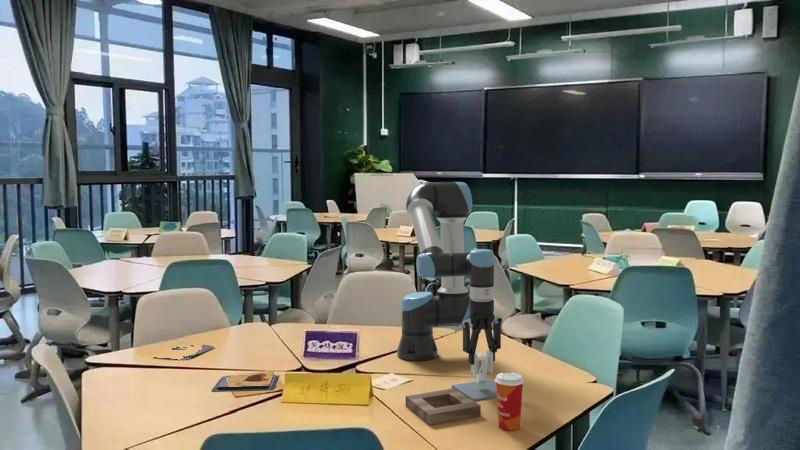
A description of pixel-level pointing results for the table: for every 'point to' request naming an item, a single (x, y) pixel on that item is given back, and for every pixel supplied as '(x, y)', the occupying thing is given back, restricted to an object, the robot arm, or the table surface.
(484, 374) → the milkshake
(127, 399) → the table surface
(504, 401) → the paper cup
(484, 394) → the mat
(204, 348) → the terrain model
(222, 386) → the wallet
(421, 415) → the pocket block
